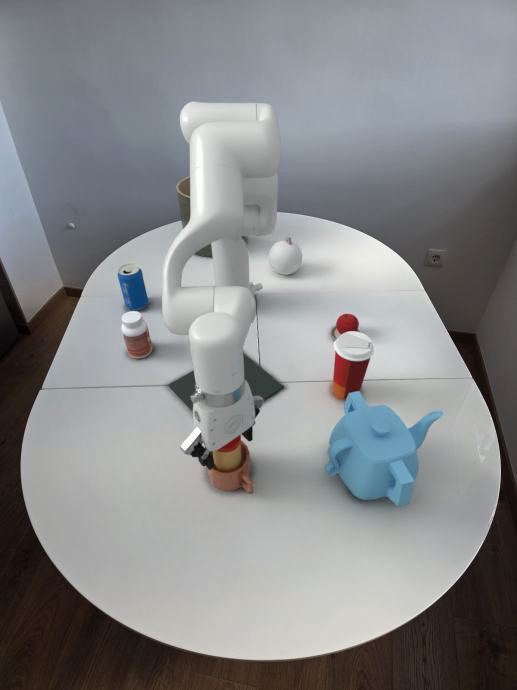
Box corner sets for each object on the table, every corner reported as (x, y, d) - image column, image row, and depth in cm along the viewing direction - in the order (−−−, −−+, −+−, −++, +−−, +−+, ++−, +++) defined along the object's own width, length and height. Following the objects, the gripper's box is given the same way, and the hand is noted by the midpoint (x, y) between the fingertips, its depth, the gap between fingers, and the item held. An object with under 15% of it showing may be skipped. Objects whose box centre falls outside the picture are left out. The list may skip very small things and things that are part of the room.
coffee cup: (366, 382, 101) (377, 334, 90) (360, 408, 95) (372, 359, 85) (331, 374, 103) (338, 326, 93) (323, 399, 97) (330, 350, 87)
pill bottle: (156, 353, 108) (148, 319, 101) (133, 362, 106) (123, 328, 99) (147, 339, 112) (138, 305, 105) (124, 348, 110) (114, 314, 102)
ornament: (306, 269, 137) (309, 234, 129) (290, 284, 131) (292, 249, 123) (278, 260, 142) (280, 226, 134) (262, 274, 135) (262, 240, 127)
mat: (235, 348, 110) (235, 346, 109) (283, 387, 100) (283, 386, 99) (168, 386, 100) (168, 384, 100) (214, 434, 90) (213, 432, 90)
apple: (325, 339, 112) (328, 319, 108) (336, 322, 117) (339, 303, 113) (355, 349, 109) (359, 329, 105) (364, 331, 114) (368, 311, 110)
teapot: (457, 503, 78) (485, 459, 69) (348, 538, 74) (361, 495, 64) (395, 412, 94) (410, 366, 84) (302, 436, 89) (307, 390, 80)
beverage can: (121, 308, 122) (111, 272, 114) (134, 296, 127) (125, 260, 119) (140, 314, 121) (131, 277, 113) (153, 301, 125) (145, 265, 117)
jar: (231, 453, 86) (228, 418, 79) (248, 471, 83) (247, 437, 76) (209, 468, 83) (204, 434, 76) (226, 488, 80) (222, 454, 73)
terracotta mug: (199, 469, 84) (196, 453, 80) (232, 446, 88) (231, 429, 84) (234, 511, 77) (233, 495, 74) (268, 484, 81) (269, 468, 78)
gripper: (187, 429, 61) (199, 492, 72) (277, 372, 69) (275, 437, 81) (159, 399, 65) (175, 463, 77) (248, 348, 73) (250, 413, 85)
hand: (226, 449), depth 79 cm, fingers open, 8 cm apart
